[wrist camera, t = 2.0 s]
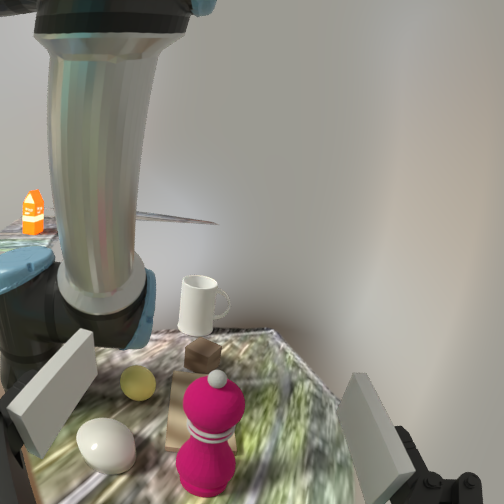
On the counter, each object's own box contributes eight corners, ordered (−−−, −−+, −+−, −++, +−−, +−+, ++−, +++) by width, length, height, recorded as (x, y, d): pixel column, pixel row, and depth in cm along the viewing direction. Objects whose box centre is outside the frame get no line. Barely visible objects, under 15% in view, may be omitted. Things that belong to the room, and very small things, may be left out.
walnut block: (184, 367, 54) (185, 346, 53) (198, 356, 58) (200, 336, 57) (205, 378, 52) (208, 357, 51) (218, 366, 56) (221, 346, 55)
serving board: (173, 375, 51) (173, 370, 50) (226, 380, 52) (227, 375, 52) (165, 450, 33) (165, 446, 33) (235, 455, 35) (237, 451, 35)
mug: (227, 323, 74) (233, 279, 71) (225, 341, 66) (233, 294, 63) (180, 316, 73) (184, 272, 70) (174, 333, 65) (177, 285, 62)
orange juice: (43, 231, 118) (44, 189, 113) (34, 235, 110) (35, 191, 105) (31, 229, 117) (32, 188, 112) (22, 233, 108) (23, 190, 103)
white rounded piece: (74, 440, 30) (68, 425, 29) (120, 426, 36) (117, 412, 35) (96, 482, 25) (90, 469, 24) (147, 464, 30) (145, 451, 30)
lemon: (115, 389, 43) (112, 362, 41) (145, 381, 47) (144, 354, 46) (131, 412, 39) (128, 385, 37) (162, 401, 43) (162, 375, 42)
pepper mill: (166, 486, 27) (162, 378, 22) (190, 452, 34) (199, 341, 29) (219, 508, 26) (243, 410, 21) (238, 470, 32) (267, 363, 27)
